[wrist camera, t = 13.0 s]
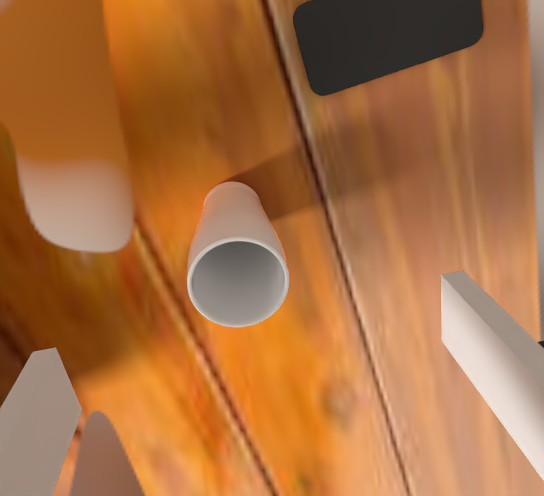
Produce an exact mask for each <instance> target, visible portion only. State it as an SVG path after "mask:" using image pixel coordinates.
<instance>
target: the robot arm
mask: <svg viewBox="0 0 544 496" xmlns="http://www.w3.org/2000/svg"><path fill="white" fill-rule="evenodd" d="M441 306H442V342H443V343H444V345H445V346H446V347H447V349H448V350H449V351H450V353H451V354H452V356H453V357H454V358H455V360H456V361H457V362H458V364H459V365H460V367H461V368H462V369H463V371H464V372H465V373H466V375H467V376H468V377H469V379H470V380H471V382H472V383H473V384H474V386H475V387H476V388H477V390H478V391H479V393H480V394H481V395H482V397H483V398H484V399H485V401H486V402H487V404H488V405H489V406H490V408H491V409H492V410H493V412H494V413H495V415H496V416H497V417H498V419H499V420H500V421H501V423H502V424H503V426H504V427H505V428H506V430H507V431H508V432H509V434H510V435H511V437H512V438H513V439H514V441H515V442H516V443H517V445H518V446H519V448H520V449H521V450H522V452H523V453H524V454H525V456H526V457H527V458H528V460H529V461H530V463H531V464H532V465H533V467H534V468H535V469H536V471H537V472H538V474H539V475H540V476H541V478H542V479H543V480H544V341H541V342H537V341H536V340H535V339H534V338H532V337H531V336H530V335H529V334H528V333H527V332H526V331H525V330H524V329H523V328H522V327H521V326H520V325H519V324H518V323H517V322H516V321H515V320H514V319H513V318H512V317H511V316H510V315H509V314H508V313H507V312H506V311H505V310H504V309H503V308H501V307H500V306H499V305H498V304H497V303H496V302H495V301H494V300H493V299H492V298H491V297H490V296H489V295H488V294H487V293H486V292H485V291H484V290H483V289H482V288H481V287H480V286H479V285H478V284H477V283H476V282H475V281H474V280H473V279H472V278H471V277H469V276H468V275H467V274H466V273H465V272H464V271H457V272H452V273H447V274H442V275H441ZM81 412H82V408H81V406H80V404H79V401H78V399H77V396H76V394H75V392H74V389H73V387H72V384H71V382H70V380H69V377H68V375H67V373H66V370H65V368H64V365H63V363H62V361H61V358H60V356H59V354H58V351H57V349H56V347H55V348H50V349H45V350H39V351H34V352H32V354H31V356H30V357H29V359H28V361H27V363H26V364H25V366H24V368H23V370H22V371H21V373H20V375H19V377H18V378H17V380H16V382H15V384H14V385H13V387H12V389H11V391H10V392H9V394H8V396H7V398H6V399H5V401H4V403H3V405H2V406H1V408H0V496H52V494H53V491H54V489H55V486H56V483H57V480H58V477H59V475H60V472H61V469H62V466H63V463H64V460H65V458H66V455H67V452H68V449H69V446H70V443H71V441H72V438H73V435H74V432H75V429H76V427H77V424H78V421H79V418H80V415H81Z"/></svg>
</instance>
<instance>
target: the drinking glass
mask: <svg viewBox="0 0 544 496" xmlns="http://www.w3.org/2000/svg"><path fill="white" fill-rule="evenodd" d="M187 289H188V294H189V297H190V299H191V301H192V303H193V305H194V306H195V308H196V309H197V310H198V311H199V312H200V313H201V314H202V315H203V316H204V317H206V318H207V319H209V320H210V321H212V322H214V323H217V324H220V325H223V326H228V327H246V326H251V325H254V324H257V323H260V322H262V321H264V320H265V319H267V318H269V317H270V316H271V315H273V314H274V313H275V312H276V311H277V310H278V309H279V308H280V306H281V305H282V303H283V302H284V300H285V298H286V296H287V293H288V289H289V272H288V267H287V261H286V257H285V254H284V250H283V247H282V244H281V242H280V239H279V237H278V235H277V233H276V231H275V229H274V228H273V226H272V224H271V222H270V220H269V219H268V217H267V215H266V213H265V211H264V209H263V207H262V205H261V202H260V199H259V197H258V195H257V194H256V192H255V191H254V190H253V189H252V188H250V187H249V186H247V185H246V184H243V183H240V182H234V181H231V182H224V183H221V184H219V185H217V186H216V187H214V188H213V189H212V190H211V191H210V192H209V193H208V195H207V196H206V198H205V200H204V204H203V211H202V214H201V217H200V220H199V223H198V225H197V228H196V231H195V234H194V237H193V240H192V243H191V247H190V251H189V257H188V266H187Z"/></svg>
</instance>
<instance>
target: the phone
mask: <svg viewBox="0 0 544 496" xmlns="http://www.w3.org/2000/svg"><path fill="white" fill-rule="evenodd" d="M293 23H294V28H295V31H296V35H297V39H298V43H299V47H300V50H301V54H302V58H303V61H304V65H305V69H306V73H307V76H308V80H309V83H310V86H311V88H312V90H313V91H314V92H315V93H316V94H318V95H329V94H332V93H335V92H338V91H341V90H344V89H347V88H350V87H353V86H356V85H359V84H362V83H364V82H367V81H370V80H373V79H376V78H379V77H382V76H385V75H388V74H391V73H394V72H397V71H400V70H403V69H405V68H408V67H411V66H414V65H417V64H421V63H424V62H426V61H429V60H432V59H435V58H438V57H441V56H443V55H446V54H449V53H452V52H455V51H458V50H461V49H464V48H467V47H470V46H472V45H474V44H475V43H477V42H478V41H479V39H480V38H481V36H482V32H483V22H482V13H481V3H480V0H312V1H309V2H306V3H304V4H302V5H300V6H299V7H298V8H297V9H296V11H295V12H294V16H293Z"/></svg>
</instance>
